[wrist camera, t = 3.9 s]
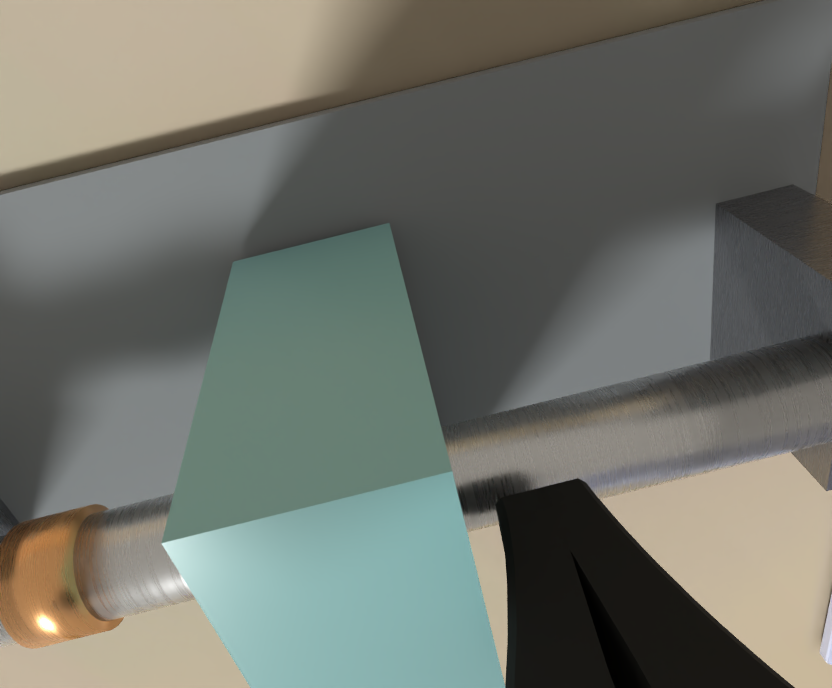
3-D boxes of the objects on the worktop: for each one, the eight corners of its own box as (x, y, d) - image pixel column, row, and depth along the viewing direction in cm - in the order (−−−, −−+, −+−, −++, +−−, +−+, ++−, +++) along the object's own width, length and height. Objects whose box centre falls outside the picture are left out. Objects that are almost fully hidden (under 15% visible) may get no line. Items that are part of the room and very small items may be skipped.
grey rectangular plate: (829, -17, 12) (840, -15, 12) (777, 444, 18) (784, 452, 17) (-299, 265, 12) (-313, 272, 12) (22, 631, 18) (18, 641, 17)
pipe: (783, 179, 14) (997, 290, 9) (769, 340, 16) (936, 491, 12) (-144, 410, 14) (-351, 625, 9) (-34, 539, 16) (-163, 763, 12)
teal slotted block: (389, 222, 12) (453, 471, 7) (453, 482, 16) (530, 787, 10) (233, 261, 12) (161, 542, 7) (332, 511, 16) (341, 833, 10)
